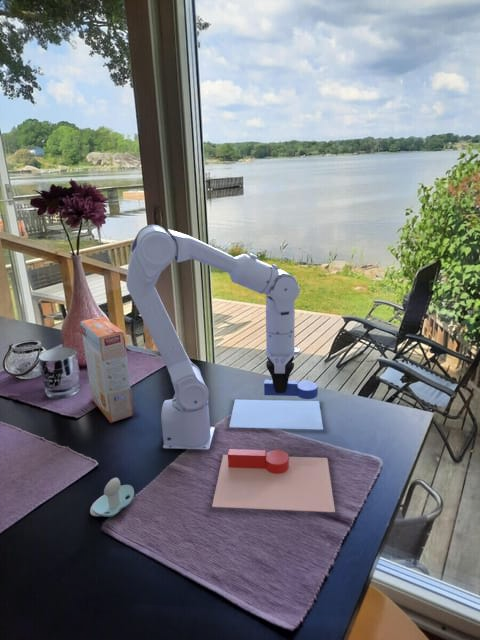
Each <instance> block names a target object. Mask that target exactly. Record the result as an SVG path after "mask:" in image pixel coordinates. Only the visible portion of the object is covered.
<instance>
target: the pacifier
mask: <svg viewBox="0 0 480 640" xmlns="http://www.w3.org/2000/svg"><path fill="white" fill-rule="evenodd" d="M134 497H135V490H134V487H133V485H131V484H123V485H121V480H120V479H119V478H118V477H113V478H111V479H110V480H109V481H108V482H107V483H106V484H105V487H104V489H103V495H101V496H99V498H97V499H96V500H95V501H94V502H93V503H92V505H91V507H90V509H89V514H90V515H91V516H92V517H106V518H107V517H108V518H109V517H113V516H116V515H117V514H118V513H120V512H121V510H123V509H124V508H126V507H127V506H129V505H130V504H131V503H132V501H133V500H134Z"/></svg>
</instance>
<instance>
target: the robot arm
mask: <svg viewBox="0 0 480 640" xmlns="http://www.w3.org/2000/svg"><path fill="white" fill-rule="evenodd" d="M168 232H169V233H170V234H169V233H168ZM258 258H259V257H258V256H257V255H256V254H253V253H251V252H250V253H249V255H248V254H246V253H242V254H239V255H237V256H233V255H231V254H228V253H226V252H225V251H222V250H220V249H218V248H216V247H214V246H211V245H209V244H207V243H205V242H203V241H202V240H199V239H197V238H195V237H193V236H191V235H188V234H185V233H182V232H180V231H179V232H178V231H176V230H173V229H167V230H166V229H165V228H164V227H162V226H160V225H157V224H148V225H145V226H143V227H142V228H141V229H140V230H139V231H138V232H137V234H136V236H135V238H134V240H133V241H132V243H131V246H130V253H129V259H128V266H127V272H126V279H125V283H126V284H125V285H126V288H127V291H128V293H129V295H130V297H131V299H132V301H133V303H134V305H135V307H136V309H137V311H138V313H139V315H140V317H141V318H142V321H143V323H144V325H145V327H146V329H147V331H148V333H149V335H150V337H151V339H152V341H153V343H154V345H155V347H156V349H157V351H158V353H159V355H160V357H161V359H162V361H163V363H164V365H165V366H166V369H167V371H168V373H169V376H170V381H171V384H172V386H173V390H174V395H173V398H171V399H165V400H164V401H163V404H162V407H161V413H160V414H161V416H160V419H161V430H162V432H161V433H162V441H163V445H162V448H163V449H176V450H177V449H179V450H181V449H182V450H209V449H210V448H211V444H212V440H213V437H214V432H215V430H216V427H214V426H211V422H210V421H211V420H210V407H209V406H210V405H209V397H210V392H209V388H208V387H207V385H206V383H205V381H204V378H203V376H202V371H201V370H200V367H198V366H197V365H196V364H195V363H194V362H192V361H191V359H190V357H189V356H188V354H187V352H186V349H185V347H184V345H183V343H182V341H181V339H180V337H179V335H178V333H177V331H176V328H175V326H174V324H173V322H172V320H171V317H170V316H169V314H168V311H167V309H166V307H165V305H164V303H163V301H162V299H161V297H160V294H159V292H158V290H157V288H156V285H157V282H158V280H159V278H160V276H161V273H162V272H163V271H165V269H166V268H168V266H169V265H170V264H171V263H172V262H173V260H175V261H176V263H183V262H186V261H188V260H194V261H196V262H199V263H202V264H204V265H206V266H209V267H212V268H214V269H217V270H220V271H223V272H225V273H227V274H228V275H229V277H230V280H231V282H232V283H233V284H235V285H239V286H241V287H244V288H246V289H248V290H251V291H253V292H256V293H259V294H261V295H263V294H264V295H265V343H266V347H265V355H266V359H267V360H266V362H265V366H266V369H267V371H268V372H269V374H270V376H271V380H273V385H274V389H275V392H276V393H285V392H286V389H287V384H288V380H290V375H291V374H292V371H293V370H294V368H295V362H294V359H295V355H297V356H298V355H301V348H300V347H295V319H296V317H295V315H296V313H295V309H296V308H295V301H296V299H297V298H298V296H299V294H300V291H301V287H299V282H298V281H297V280H296V277H294V276H293V275H292V274H290V273H288V272H286V270H283V269H281V267H279V266H278V265H276V264H274V263H273V264H268V263H266V262H264V261H261V260H259V259H258Z"/></svg>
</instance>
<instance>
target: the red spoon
mask: <svg viewBox="0 0 480 640" xmlns="http://www.w3.org/2000/svg"><path fill="white" fill-rule="evenodd" d="M227 455H228V467H231V468H260V469H267V470H268V471H269V472H271V473H275V474H280V473H284V472H286V471H287V470H288V468H289V457H290V456H289V454H288V453H287V452H286V451H284V450H280V449H272V450H270V451H268V452H267V449H241V448H240V449H237V448H232V449H231V448H228V451H227Z"/></svg>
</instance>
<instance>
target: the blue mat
mask: <svg viewBox="0 0 480 640" xmlns="http://www.w3.org/2000/svg"><path fill="white" fill-rule="evenodd" d="M230 416H231V417H230V421H229V426H228V427H229V428H236V429H237V428H240V429H274V430H275V429H281V430H315V431H316V430H317V431H318V430H321V431H324V426H323V419H322V411H321V405H320V400H289V399H288V400H285V399H282V400H280V399H279V400H278V399H274V400H273V399H234V403H233V407H232V412H231V415H230Z"/></svg>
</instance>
